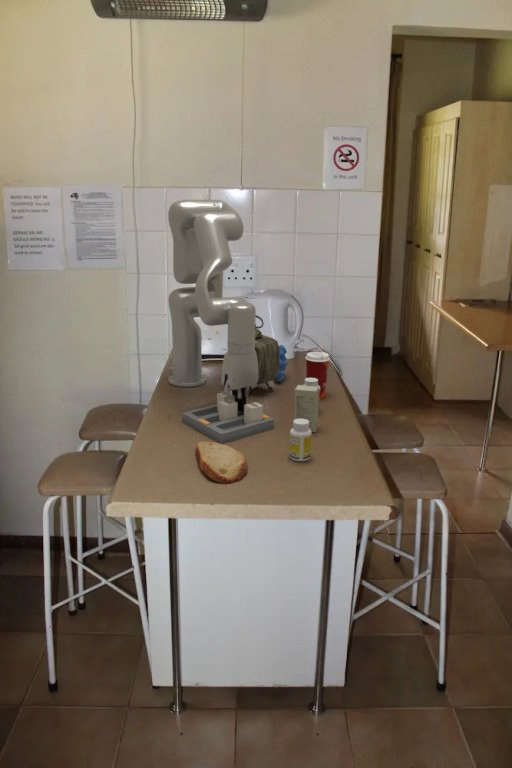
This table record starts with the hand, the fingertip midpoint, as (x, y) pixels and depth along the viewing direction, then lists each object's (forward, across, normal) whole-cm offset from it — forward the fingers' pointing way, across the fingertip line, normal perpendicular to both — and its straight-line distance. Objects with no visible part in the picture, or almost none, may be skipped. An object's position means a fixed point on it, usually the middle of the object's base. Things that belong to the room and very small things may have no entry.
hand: (240, 409), depth 188 cm
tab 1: (+2, +4, 0) cm, 5 cm away
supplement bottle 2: (+4, -22, +6) cm, 23 cm away
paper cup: (+4, -33, -3) cm, 33 cm away
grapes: (+4, -34, -23) cm, 41 cm away
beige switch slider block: (+2, +1, -6) cm, 6 cm away
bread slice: (+4, +22, +19) cm, 29 cm away
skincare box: (+4, -11, +15) cm, 19 cm away
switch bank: (+4, +4, 0) cm, 6 cm away
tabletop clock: (+4, -20, -19) cm, 28 cm away
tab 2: (+2, 0, +6) cm, 6 cm away
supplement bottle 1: (+4, +3, +28) cm, 28 cm away
